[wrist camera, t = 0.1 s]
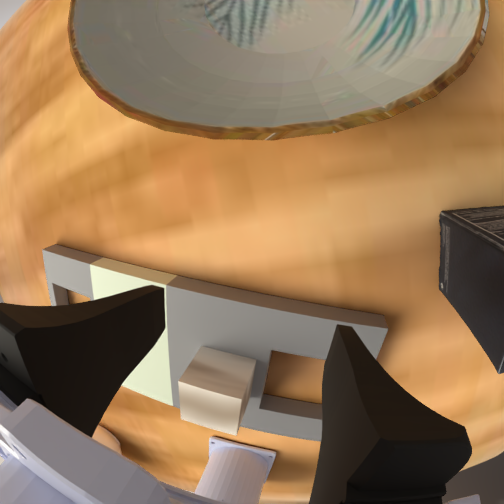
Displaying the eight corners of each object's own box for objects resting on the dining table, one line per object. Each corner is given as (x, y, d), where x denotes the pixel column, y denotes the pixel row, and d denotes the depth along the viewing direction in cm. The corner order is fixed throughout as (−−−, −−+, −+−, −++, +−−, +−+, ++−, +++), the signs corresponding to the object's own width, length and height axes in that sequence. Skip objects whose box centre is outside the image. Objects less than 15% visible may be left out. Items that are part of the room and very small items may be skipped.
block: (250, 397, 23) (236, 435, 19) (200, 384, 24) (181, 418, 19) (256, 359, 21) (241, 399, 17) (201, 345, 22) (178, 381, 18)
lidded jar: (142, 453, 35) (116, 493, 27) (116, 456, 39) (93, 489, 31) (93, 408, 34) (59, 446, 26) (74, 418, 38) (46, 449, 30)
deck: (334, 428, 25) (334, 443, 23) (74, 348, 30) (65, 356, 28) (383, 315, 20) (388, 328, 18) (55, 244, 26) (42, 249, 24)
